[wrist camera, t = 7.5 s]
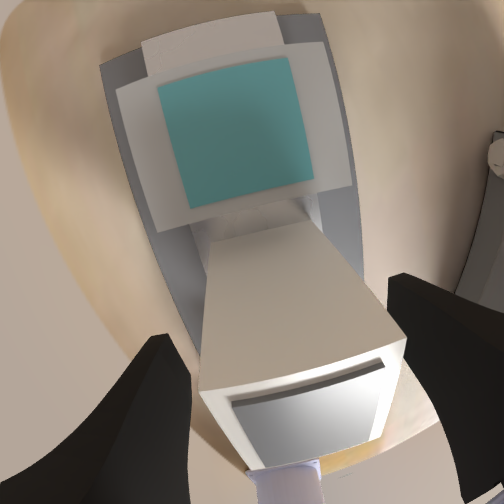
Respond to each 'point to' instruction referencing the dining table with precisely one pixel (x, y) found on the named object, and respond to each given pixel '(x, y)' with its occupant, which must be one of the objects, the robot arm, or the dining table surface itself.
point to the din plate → (181, 238)
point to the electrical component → (488, 239)
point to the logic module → (294, 348)
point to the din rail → (211, 45)
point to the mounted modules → (235, 132)
